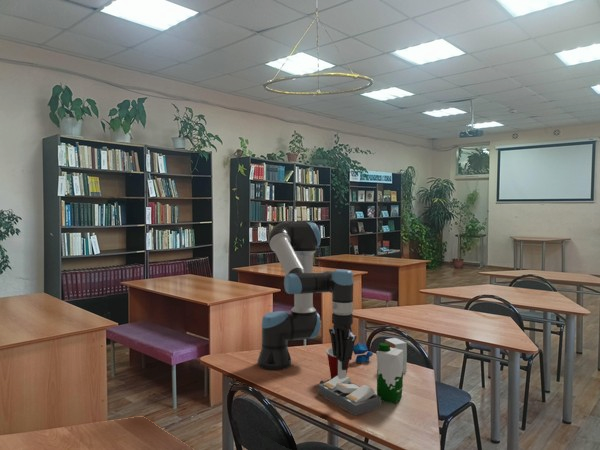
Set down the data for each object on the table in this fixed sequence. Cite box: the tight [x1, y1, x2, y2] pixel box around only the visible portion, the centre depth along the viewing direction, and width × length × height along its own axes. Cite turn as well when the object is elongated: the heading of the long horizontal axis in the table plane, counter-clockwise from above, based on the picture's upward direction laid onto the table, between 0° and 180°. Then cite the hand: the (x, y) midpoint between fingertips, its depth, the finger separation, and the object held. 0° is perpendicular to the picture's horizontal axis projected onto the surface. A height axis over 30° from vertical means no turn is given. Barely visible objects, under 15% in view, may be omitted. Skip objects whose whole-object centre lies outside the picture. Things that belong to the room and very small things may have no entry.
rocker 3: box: [346, 384, 375, 404], centre depth 149 cm, size 5×9×2 cm, turn 124°
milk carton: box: [375, 342, 404, 405], centre depth 156 cm, size 9×9×20 cm
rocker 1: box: [324, 375, 352, 390], centre depth 159 cm, size 5×9×2 cm, turn 124°
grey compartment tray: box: [318, 380, 382, 417], centre depth 157 cm, size 27×12×4 cm, turn 34°
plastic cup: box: [325, 347, 351, 380], centre depth 173 cm, size 11×11×12 cm
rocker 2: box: [335, 383, 361, 393], centre depth 154 cm, size 5×9×2 cm, turn 124°
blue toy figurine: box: [353, 342, 374, 364], centre depth 195 cm, size 7×9×12 cm
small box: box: [384, 337, 408, 373], centre depth 184 cm, size 8×6×13 cm
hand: (342, 377), depth 152 cm, fingers closed
